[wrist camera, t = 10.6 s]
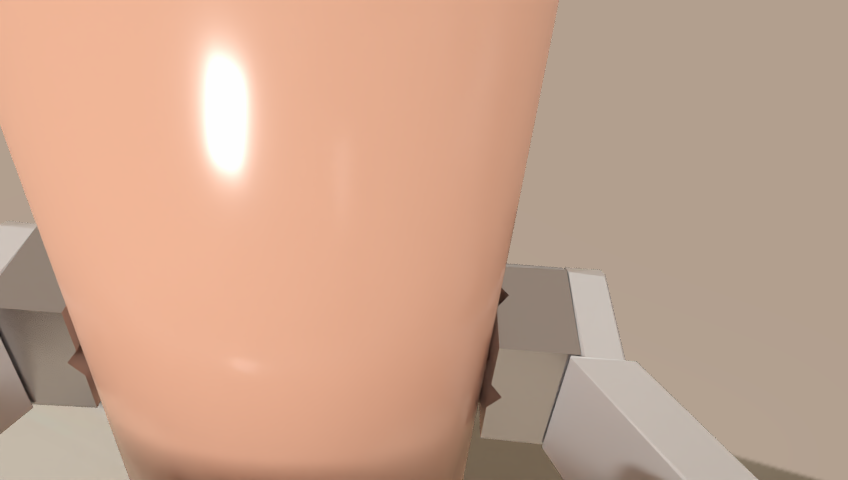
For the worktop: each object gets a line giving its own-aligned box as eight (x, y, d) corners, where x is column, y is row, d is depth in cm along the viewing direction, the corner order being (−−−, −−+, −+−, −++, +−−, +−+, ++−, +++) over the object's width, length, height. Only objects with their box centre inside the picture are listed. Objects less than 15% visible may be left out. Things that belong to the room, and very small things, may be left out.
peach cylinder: (441, 477, 16) (564, -283, 7) (436, 736, 12) (694, -207, 3) (222, 460, 16) (63, -331, 7) (148, 716, 12) (-423, -309, 3)
